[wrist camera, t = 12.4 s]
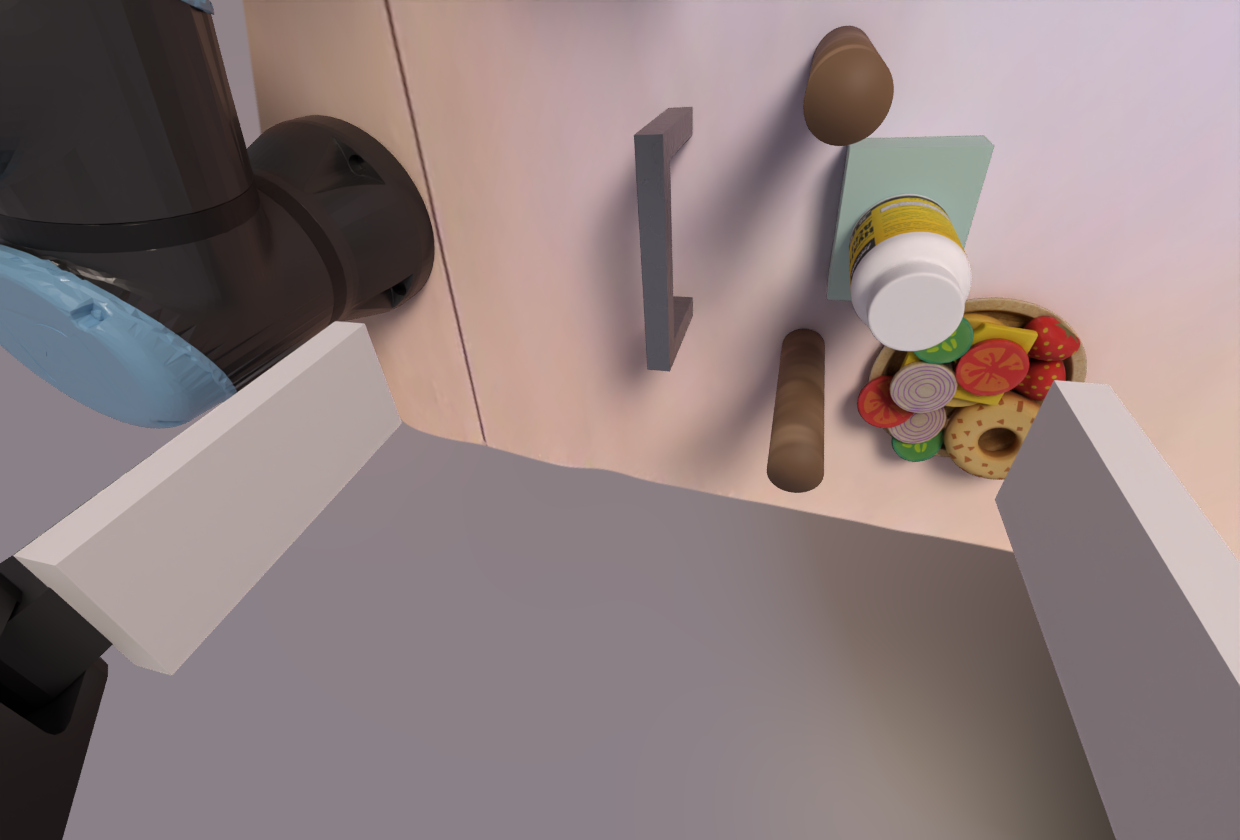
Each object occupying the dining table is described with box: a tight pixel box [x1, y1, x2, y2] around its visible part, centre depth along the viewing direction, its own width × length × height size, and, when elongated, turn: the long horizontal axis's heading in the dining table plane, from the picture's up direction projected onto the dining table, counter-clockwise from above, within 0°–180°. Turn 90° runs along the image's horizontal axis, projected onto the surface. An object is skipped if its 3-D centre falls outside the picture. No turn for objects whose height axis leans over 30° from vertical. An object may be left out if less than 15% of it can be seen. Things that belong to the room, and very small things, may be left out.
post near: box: [803, 26, 894, 146], centre depth 25 cm, size 3×3×14 cm
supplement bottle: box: [849, 194, 972, 351], centre depth 29 cm, size 5×5×10 cm
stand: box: [827, 136, 994, 301], centre depth 34 cm, size 7×9×2 cm
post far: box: [767, 329, 825, 493], centre depth 36 cm, size 3×3×14 cm
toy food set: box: [857, 298, 1087, 479], centre depth 38 cm, size 13×13×3 cm
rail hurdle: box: [634, 107, 693, 371], centre depth 35 cm, size 2×14×8 cm, turn 5°
